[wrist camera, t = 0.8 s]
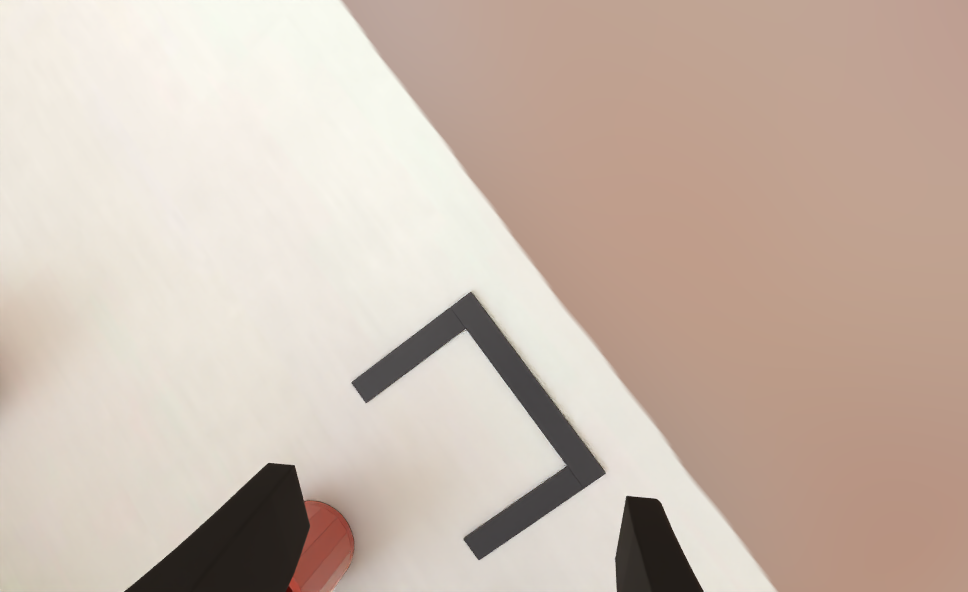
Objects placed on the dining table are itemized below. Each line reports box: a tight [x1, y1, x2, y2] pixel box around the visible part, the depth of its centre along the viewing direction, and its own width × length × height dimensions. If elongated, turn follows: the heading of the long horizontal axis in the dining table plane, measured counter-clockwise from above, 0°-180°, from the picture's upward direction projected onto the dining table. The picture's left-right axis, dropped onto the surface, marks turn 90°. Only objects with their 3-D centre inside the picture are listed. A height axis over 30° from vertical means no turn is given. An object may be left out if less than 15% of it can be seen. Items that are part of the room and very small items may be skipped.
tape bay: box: [352, 292, 605, 560], centre depth 33 cm, size 10×14×1 cm
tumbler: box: [286, 501, 354, 592], centre depth 31 cm, size 6×6×7 cm
